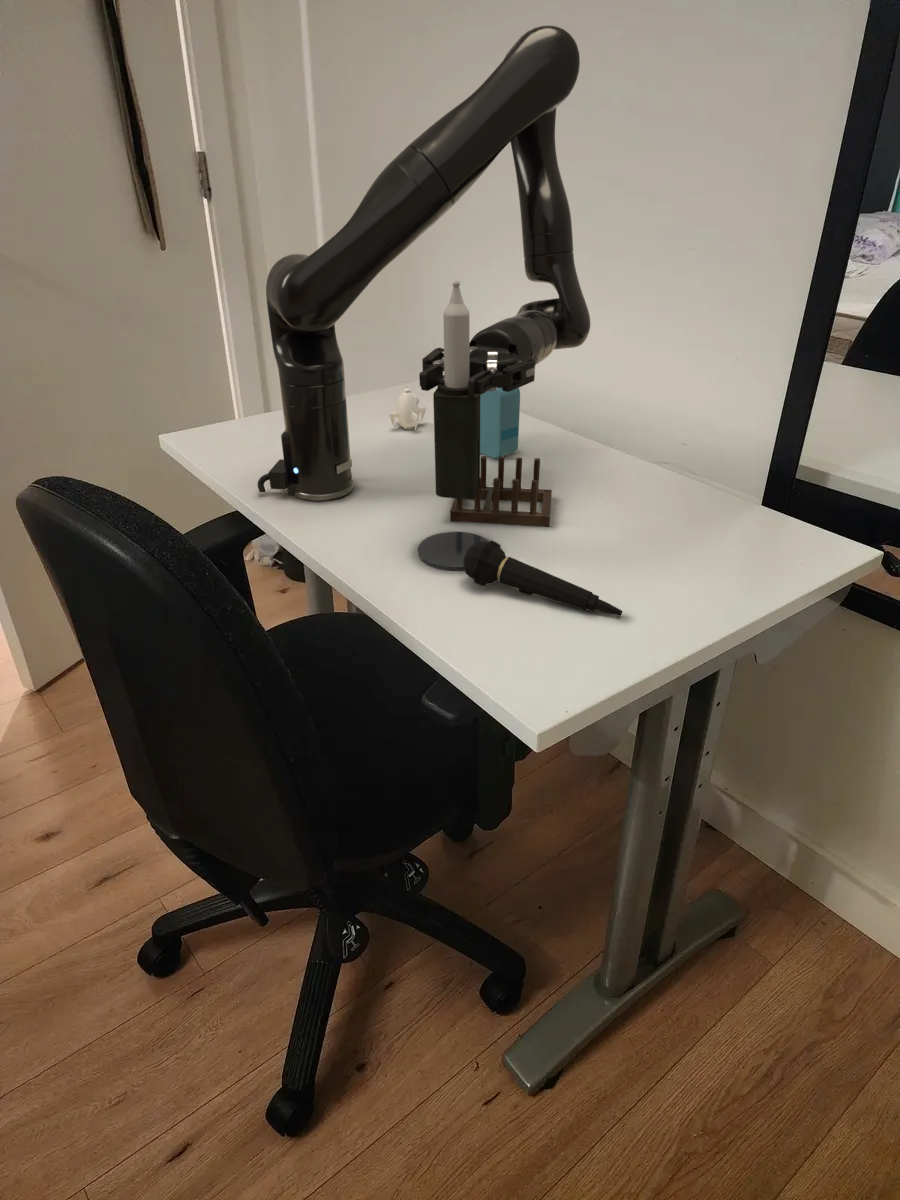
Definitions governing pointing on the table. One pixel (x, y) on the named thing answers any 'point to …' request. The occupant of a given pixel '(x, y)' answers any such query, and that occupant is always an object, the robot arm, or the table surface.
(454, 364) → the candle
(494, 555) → the microphone
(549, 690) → the table surface
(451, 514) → the drying rack
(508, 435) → the data package
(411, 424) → the rocket toy
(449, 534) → the slate coaster
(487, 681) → the table surface
